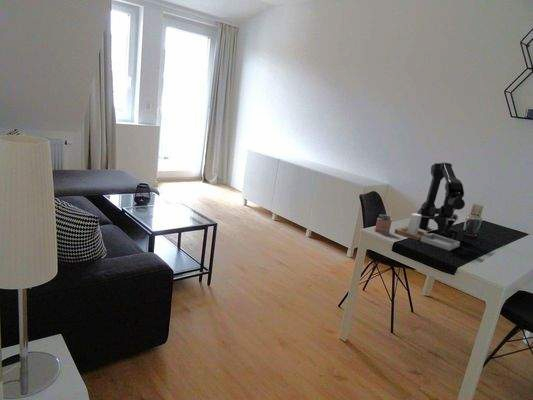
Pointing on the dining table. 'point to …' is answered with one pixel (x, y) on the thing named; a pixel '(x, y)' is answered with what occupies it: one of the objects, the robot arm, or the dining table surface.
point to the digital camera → (456, 234)
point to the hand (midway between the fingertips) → (442, 233)
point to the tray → (440, 242)
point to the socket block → (403, 229)
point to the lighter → (383, 224)
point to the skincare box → (414, 223)
